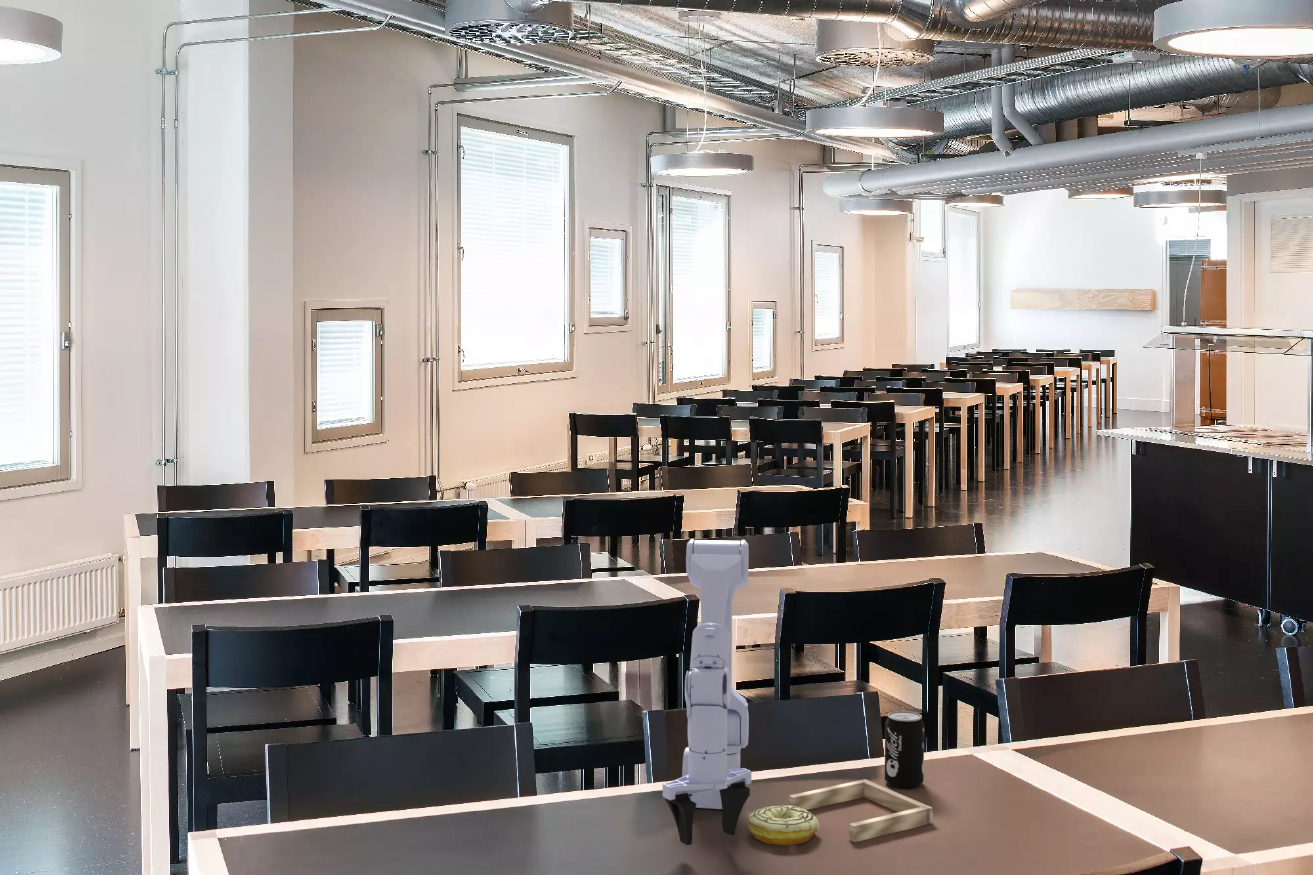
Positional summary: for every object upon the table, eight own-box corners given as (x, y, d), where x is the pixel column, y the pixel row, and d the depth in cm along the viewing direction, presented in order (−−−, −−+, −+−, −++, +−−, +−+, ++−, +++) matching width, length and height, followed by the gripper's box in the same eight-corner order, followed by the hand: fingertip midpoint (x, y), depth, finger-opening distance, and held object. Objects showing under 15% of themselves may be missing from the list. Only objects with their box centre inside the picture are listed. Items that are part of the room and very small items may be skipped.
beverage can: (923, 791, 231) (924, 721, 230) (883, 788, 232) (884, 719, 231) (923, 779, 237) (924, 711, 236) (885, 776, 238) (885, 709, 237)
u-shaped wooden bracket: (854, 842, 207) (854, 826, 207) (789, 810, 221) (789, 795, 221) (932, 823, 215) (932, 807, 215) (864, 793, 229) (865, 779, 229)
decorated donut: (831, 835, 211) (832, 811, 211) (789, 854, 203) (790, 829, 203) (777, 819, 218) (778, 795, 218) (735, 836, 210) (735, 812, 210)
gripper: (680, 762, 195) (680, 856, 196) (763, 747, 202) (763, 837, 203) (655, 750, 201) (655, 840, 202) (736, 735, 208) (736, 823, 209)
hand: (707, 838), depth 203 cm, fingers open, 7 cm apart
